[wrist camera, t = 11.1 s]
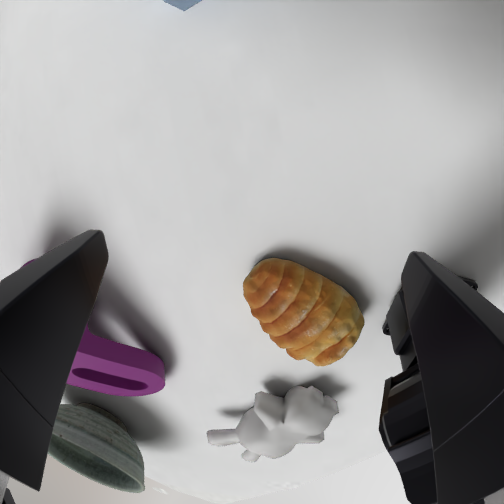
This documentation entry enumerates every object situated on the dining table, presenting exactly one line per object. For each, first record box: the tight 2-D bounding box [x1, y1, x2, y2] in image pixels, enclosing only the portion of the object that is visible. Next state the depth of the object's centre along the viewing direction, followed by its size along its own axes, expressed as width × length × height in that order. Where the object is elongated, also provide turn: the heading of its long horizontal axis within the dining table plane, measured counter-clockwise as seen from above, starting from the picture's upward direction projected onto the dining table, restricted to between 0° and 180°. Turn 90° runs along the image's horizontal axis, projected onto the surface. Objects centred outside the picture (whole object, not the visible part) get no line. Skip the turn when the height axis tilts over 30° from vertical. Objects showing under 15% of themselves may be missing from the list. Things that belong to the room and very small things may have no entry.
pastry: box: [243, 258, 364, 366], centre depth 23 cm, size 9×7×4 cm
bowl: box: [48, 403, 145, 493], centre depth 39 cm, size 21×21×10 cm
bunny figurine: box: [207, 386, 339, 462], centre depth 31 cm, size 10×5×15 cm
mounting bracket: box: [20, 259, 165, 396], centre depth 29 cm, size 9×8×18 cm
